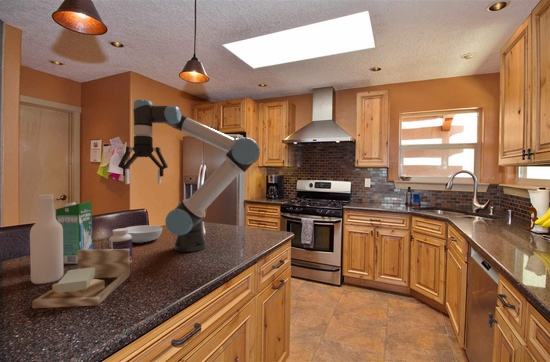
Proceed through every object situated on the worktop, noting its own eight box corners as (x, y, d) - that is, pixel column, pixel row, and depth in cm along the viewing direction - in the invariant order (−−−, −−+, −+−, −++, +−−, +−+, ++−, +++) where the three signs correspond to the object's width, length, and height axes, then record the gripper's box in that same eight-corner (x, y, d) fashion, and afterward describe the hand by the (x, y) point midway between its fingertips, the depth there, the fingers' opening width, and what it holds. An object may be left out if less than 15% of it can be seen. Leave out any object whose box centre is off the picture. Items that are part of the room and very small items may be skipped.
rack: (129, 275, 99) (129, 248, 98) (97, 305, 77) (97, 270, 77) (80, 277, 97) (79, 249, 96) (32, 308, 75) (31, 272, 75)
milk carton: (71, 257, 119) (70, 201, 118) (92, 256, 120) (92, 201, 119) (56, 264, 110) (55, 203, 109) (79, 263, 111) (78, 203, 110)
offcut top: (86, 289, 78) (86, 280, 78) (56, 293, 75) (56, 284, 75) (95, 274, 89) (94, 267, 89) (69, 277, 86) (69, 270, 86)
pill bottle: (136, 262, 113) (136, 228, 113) (120, 268, 106) (119, 232, 105) (122, 260, 116) (121, 226, 115) (104, 266, 108) (104, 230, 108)
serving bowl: (151, 246, 137) (151, 233, 137) (111, 246, 137) (111, 232, 137) (168, 236, 158) (168, 225, 158) (133, 236, 158) (133, 224, 158)
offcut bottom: (105, 294, 86) (105, 286, 86) (90, 304, 79) (90, 296, 79) (67, 293, 86) (67, 286, 86) (49, 304, 79) (49, 296, 79)
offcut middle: (104, 288, 84) (104, 280, 84) (83, 298, 78) (83, 289, 77) (75, 283, 88) (75, 276, 87) (52, 293, 81) (52, 284, 81)
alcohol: (46, 274, 99) (44, 193, 98) (69, 275, 99) (68, 193, 98) (23, 284, 90) (21, 195, 89) (49, 284, 90) (48, 195, 89)
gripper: (174, 137, 125) (174, 183, 125) (117, 136, 122) (117, 183, 122) (170, 135, 117) (170, 184, 118) (109, 134, 114) (109, 184, 115)
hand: (143, 183), depth 120 cm, fingers open, 13 cm apart
